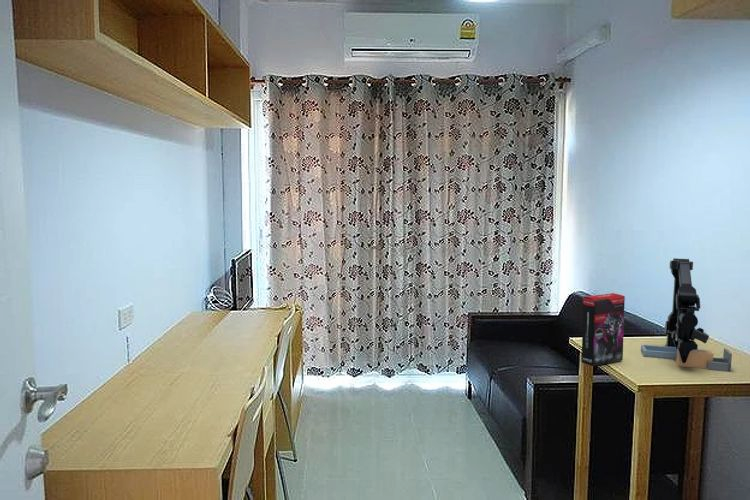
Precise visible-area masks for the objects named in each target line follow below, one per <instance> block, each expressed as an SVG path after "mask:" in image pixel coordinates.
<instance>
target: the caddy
mask: <svg viewBox="0 0 750 500" xmlns="http://www.w3.org/2000/svg"><path fill="white" fill-rule="evenodd" d="M713 357H714V353H713V351H711V349H710V350H709V349H698V348H697V350H692V351H690V353H689V355H688V358H687V361H686V363H682V360H681V357H680V353H679V350H678V348H677V357H676V359H675V363H676V364H677V366H678V367H685V368H686V367H687V368H699V369H707V361H710V362H713Z"/></svg>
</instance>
